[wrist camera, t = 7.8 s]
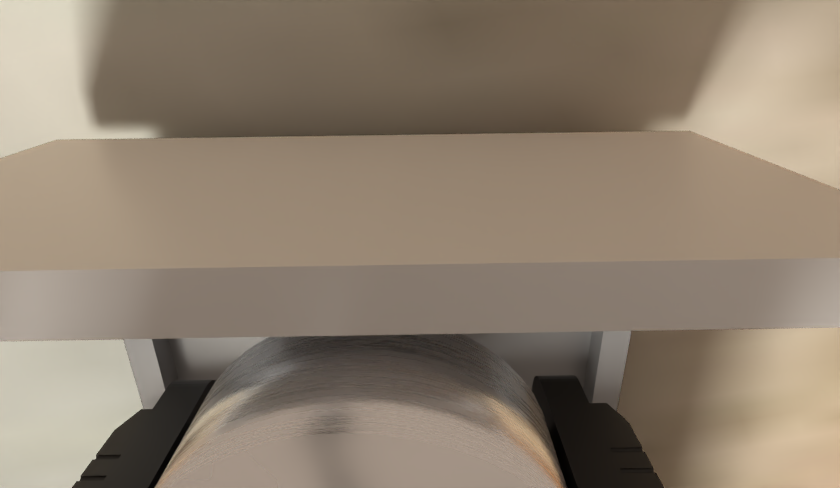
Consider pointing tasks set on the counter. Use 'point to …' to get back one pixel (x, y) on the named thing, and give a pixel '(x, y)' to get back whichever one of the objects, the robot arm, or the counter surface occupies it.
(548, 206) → the drawer
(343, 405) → the disc
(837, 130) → the counter surface
